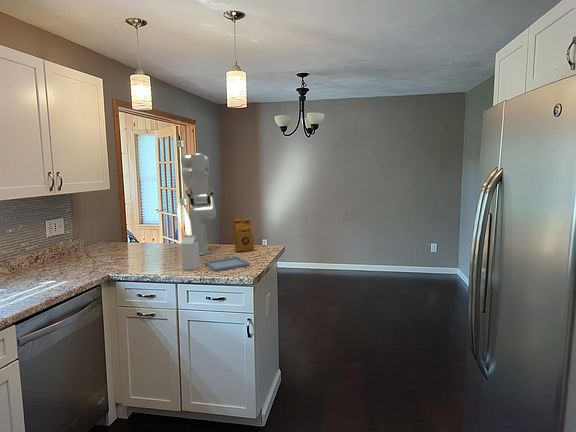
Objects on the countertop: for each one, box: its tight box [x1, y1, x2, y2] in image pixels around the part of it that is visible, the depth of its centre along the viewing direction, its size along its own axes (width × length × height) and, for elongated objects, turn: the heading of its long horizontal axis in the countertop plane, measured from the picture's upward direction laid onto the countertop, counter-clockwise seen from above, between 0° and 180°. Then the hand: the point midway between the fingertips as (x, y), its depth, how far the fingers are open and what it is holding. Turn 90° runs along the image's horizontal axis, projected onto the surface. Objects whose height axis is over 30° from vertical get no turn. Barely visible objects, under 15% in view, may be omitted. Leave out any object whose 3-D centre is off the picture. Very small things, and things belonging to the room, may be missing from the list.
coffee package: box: [233, 217, 255, 253], centre depth 261 cm, size 10×12×22 cm
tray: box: [204, 256, 251, 272], centre depth 223 cm, size 20×20×2 cm
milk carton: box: [180, 234, 201, 271], centre depth 218 cm, size 7×7×19 cm
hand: (200, 204), depth 228 cm, fingers open, 9 cm apart
